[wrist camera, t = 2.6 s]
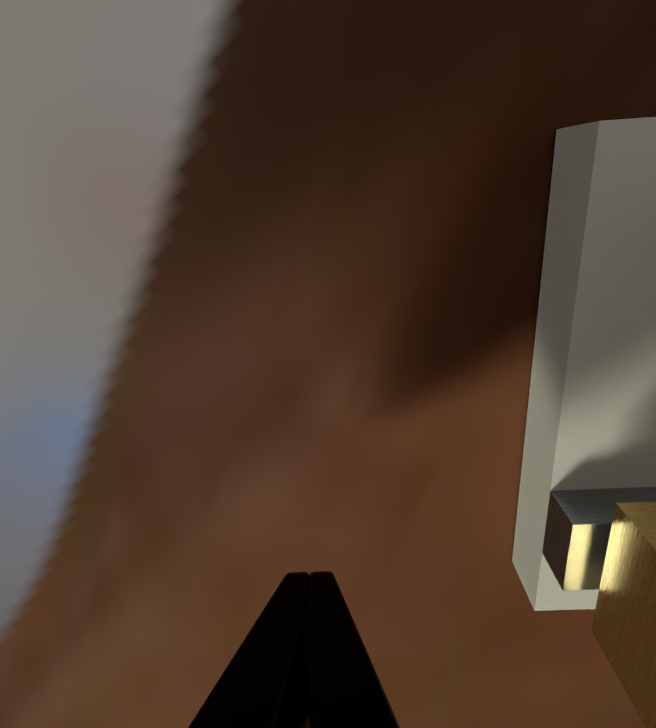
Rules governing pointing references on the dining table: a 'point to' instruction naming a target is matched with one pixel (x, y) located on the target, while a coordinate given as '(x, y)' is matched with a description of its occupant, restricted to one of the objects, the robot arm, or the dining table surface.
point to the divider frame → (583, 532)
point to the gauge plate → (591, 338)
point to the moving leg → (631, 605)
